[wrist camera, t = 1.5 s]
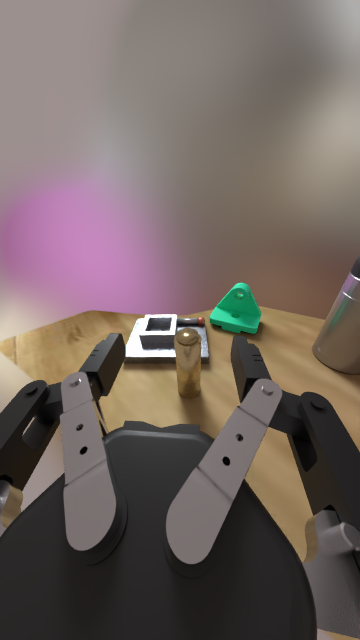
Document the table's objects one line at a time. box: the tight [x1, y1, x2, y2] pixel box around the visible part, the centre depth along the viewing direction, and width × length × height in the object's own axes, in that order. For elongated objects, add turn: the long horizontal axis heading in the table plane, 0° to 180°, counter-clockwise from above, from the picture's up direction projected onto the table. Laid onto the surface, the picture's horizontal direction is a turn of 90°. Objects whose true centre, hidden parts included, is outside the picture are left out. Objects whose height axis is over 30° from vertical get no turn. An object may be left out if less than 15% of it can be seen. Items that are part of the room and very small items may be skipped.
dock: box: [123, 315, 209, 363], centre depth 43 cm, size 18×14×4 cm
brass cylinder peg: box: [174, 328, 202, 399], centre depth 30 cm, size 4×4×13 cm
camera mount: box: [210, 283, 261, 334], centre depth 46 cm, size 12×8×10 cm, turn 63°
